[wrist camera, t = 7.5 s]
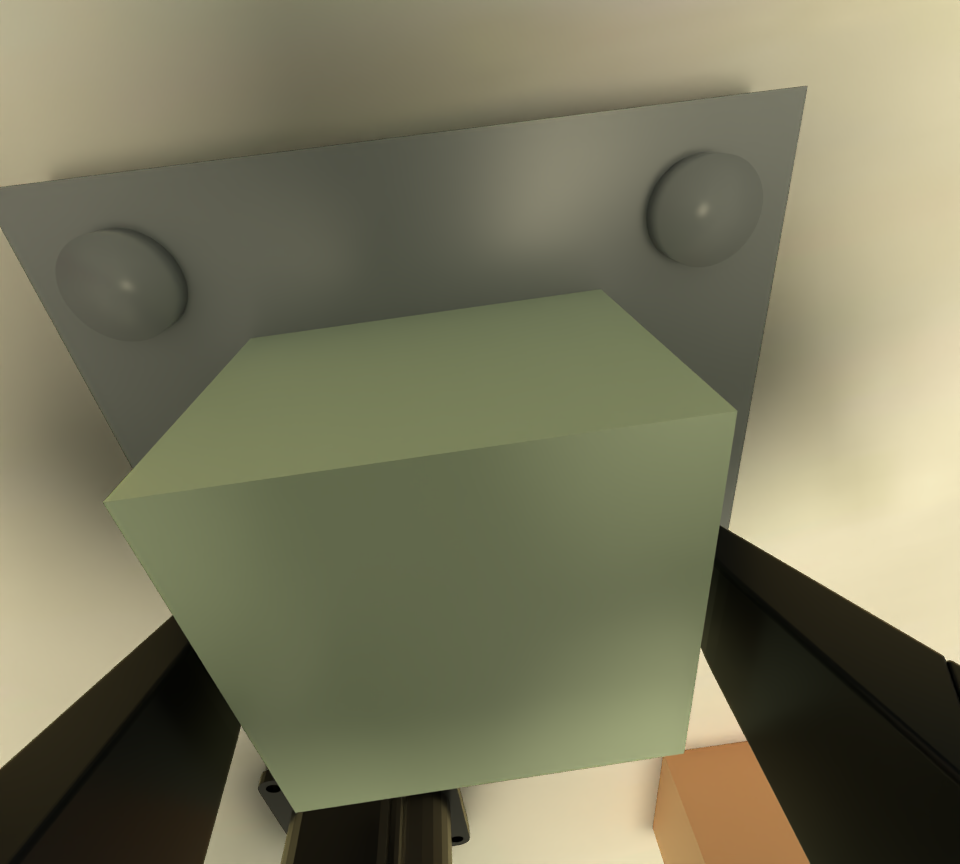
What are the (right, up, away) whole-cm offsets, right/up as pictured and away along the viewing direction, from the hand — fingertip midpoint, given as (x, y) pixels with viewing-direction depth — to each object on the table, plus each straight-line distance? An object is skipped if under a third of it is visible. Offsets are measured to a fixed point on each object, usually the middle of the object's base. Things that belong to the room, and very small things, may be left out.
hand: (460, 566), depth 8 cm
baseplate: (0, +2, +3) cm, 4 cm away
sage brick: (0, +2, +2) cm, 3 cm away
